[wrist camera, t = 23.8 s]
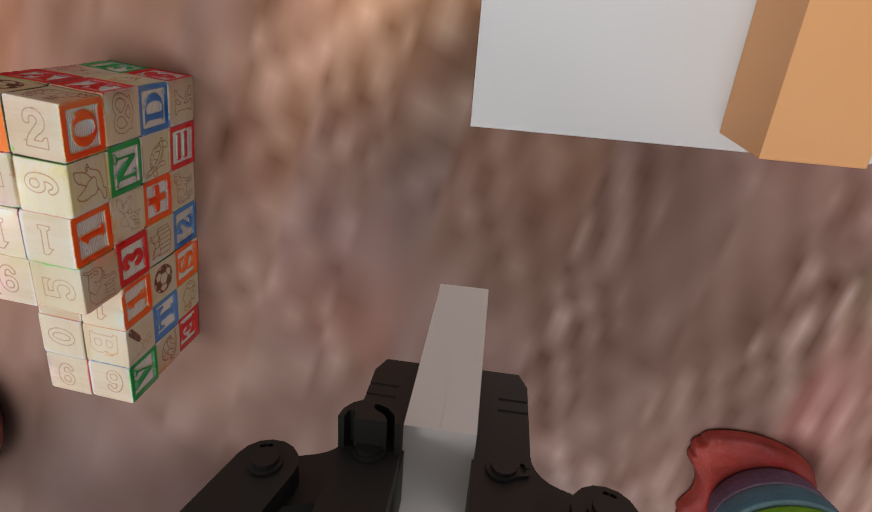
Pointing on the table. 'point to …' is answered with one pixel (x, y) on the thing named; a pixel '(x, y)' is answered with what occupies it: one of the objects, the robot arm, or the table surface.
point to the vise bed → (611, 68)
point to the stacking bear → (749, 476)
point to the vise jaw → (805, 83)
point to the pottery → (1, 430)
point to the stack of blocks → (101, 219)
